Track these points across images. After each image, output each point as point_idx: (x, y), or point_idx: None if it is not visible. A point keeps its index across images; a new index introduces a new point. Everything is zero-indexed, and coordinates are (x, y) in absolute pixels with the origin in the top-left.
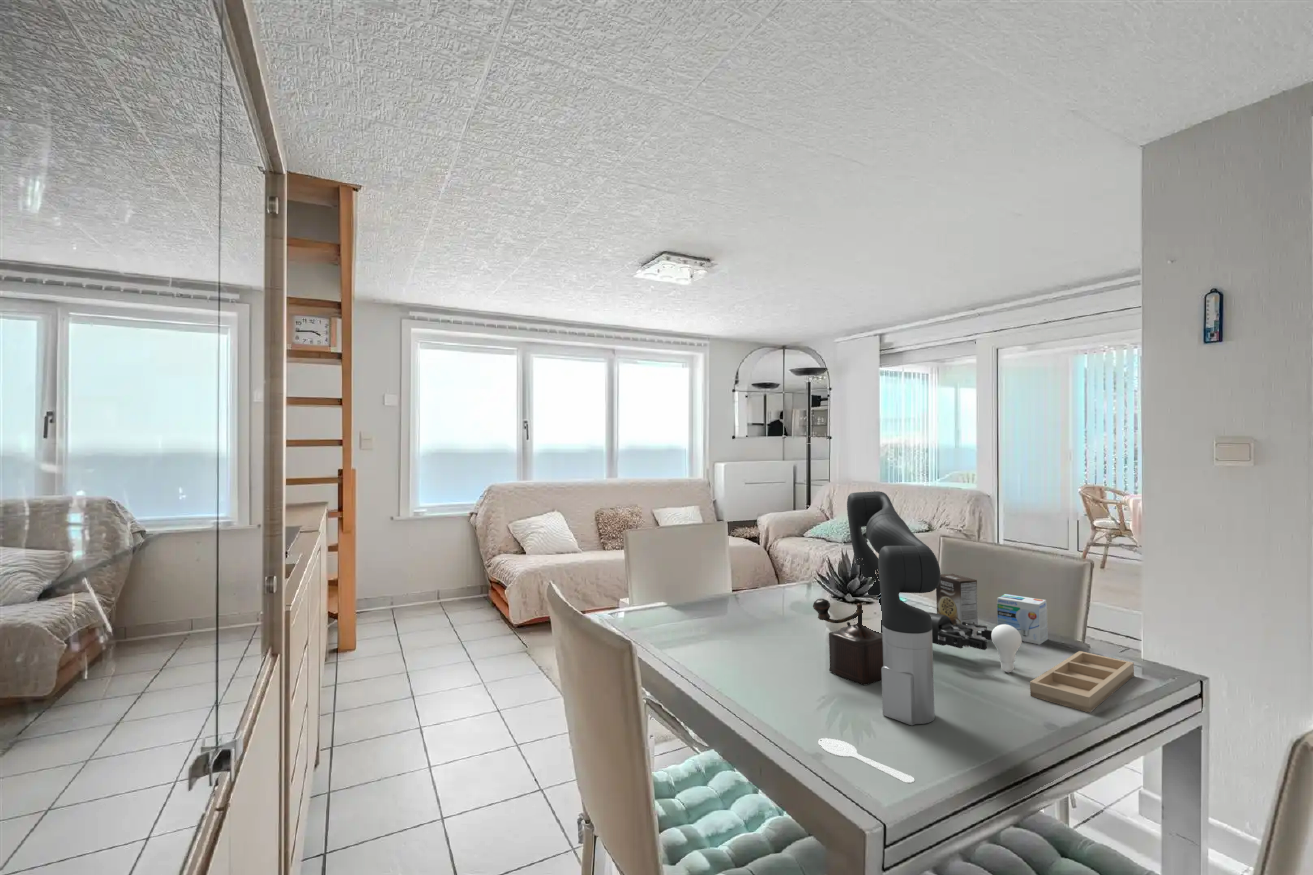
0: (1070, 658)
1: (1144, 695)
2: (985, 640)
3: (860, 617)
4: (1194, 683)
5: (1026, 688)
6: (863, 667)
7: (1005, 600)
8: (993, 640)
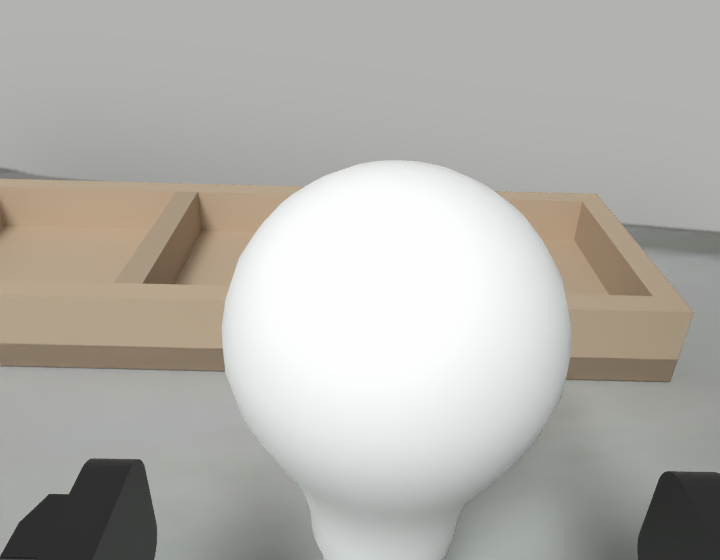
0: (48, 289)
1: None
2: (683, 474)
3: None
4: (4, 167)
5: (583, 421)
6: None
7: None
8: (542, 429)
